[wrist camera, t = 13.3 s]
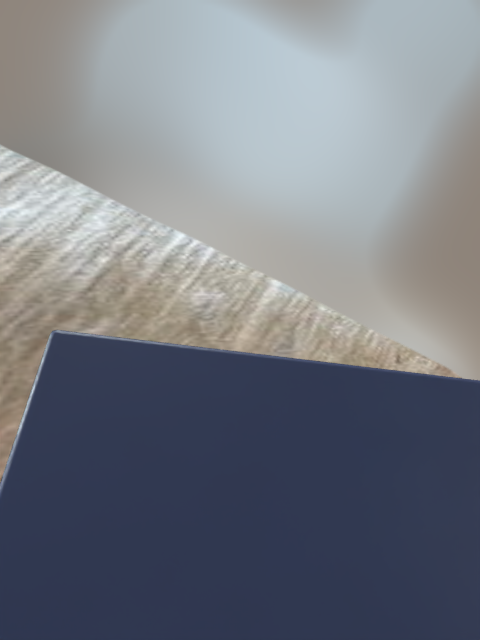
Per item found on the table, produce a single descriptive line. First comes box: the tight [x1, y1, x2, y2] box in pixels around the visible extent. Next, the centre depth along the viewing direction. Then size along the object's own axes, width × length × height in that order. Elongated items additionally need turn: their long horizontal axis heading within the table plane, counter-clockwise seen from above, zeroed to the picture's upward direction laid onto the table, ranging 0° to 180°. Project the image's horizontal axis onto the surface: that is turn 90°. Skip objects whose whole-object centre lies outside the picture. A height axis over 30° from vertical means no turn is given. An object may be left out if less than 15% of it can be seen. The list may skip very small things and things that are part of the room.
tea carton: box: [0, 330, 480, 640], centre depth 8 cm, size 5×5×10 cm
